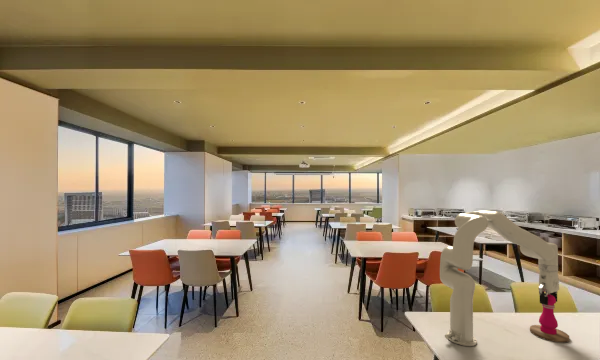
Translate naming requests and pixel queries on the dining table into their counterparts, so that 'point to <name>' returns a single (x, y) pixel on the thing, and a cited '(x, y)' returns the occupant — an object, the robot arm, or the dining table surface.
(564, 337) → the walnut board
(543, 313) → the pepper mill
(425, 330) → the dining table surface
